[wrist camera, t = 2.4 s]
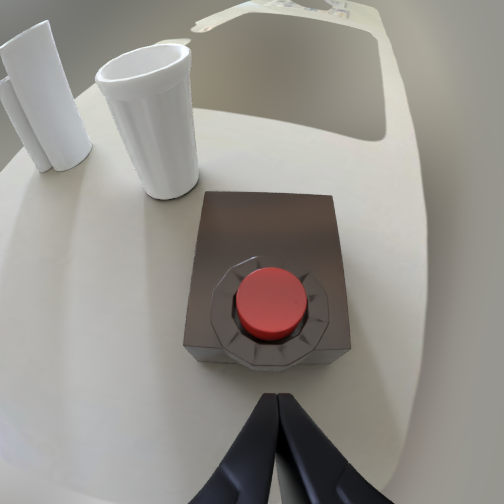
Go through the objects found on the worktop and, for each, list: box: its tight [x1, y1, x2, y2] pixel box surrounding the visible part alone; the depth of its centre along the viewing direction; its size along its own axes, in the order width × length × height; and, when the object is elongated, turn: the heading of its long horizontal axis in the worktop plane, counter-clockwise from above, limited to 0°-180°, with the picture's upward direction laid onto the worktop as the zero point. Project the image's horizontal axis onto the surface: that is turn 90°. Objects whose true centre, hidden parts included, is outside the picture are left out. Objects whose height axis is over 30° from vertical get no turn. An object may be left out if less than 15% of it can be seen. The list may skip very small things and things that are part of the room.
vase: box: [0, 20, 92, 172], centre depth 26 cm, size 11×7×20 cm, turn 76°
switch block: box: [183, 191, 351, 371], centre depth 21 cm, size 13×10×7 cm
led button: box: [236, 267, 307, 341], centre depth 16 cm, size 4×4×2 cm
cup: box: [95, 44, 199, 200], centre depth 25 cm, size 8×8×14 cm
